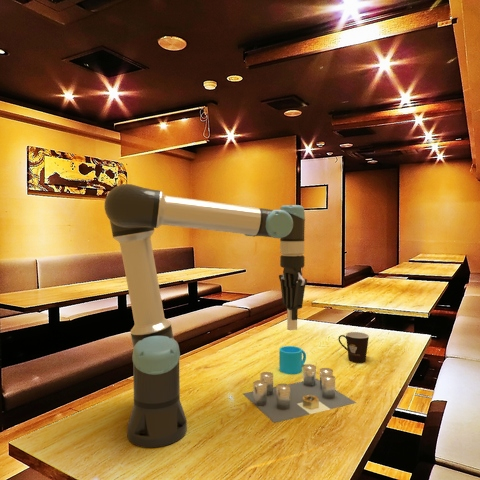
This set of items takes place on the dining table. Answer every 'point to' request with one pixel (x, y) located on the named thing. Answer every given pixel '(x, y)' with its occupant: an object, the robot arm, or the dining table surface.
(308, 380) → the spacers
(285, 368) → the mug
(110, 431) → the dining table surface
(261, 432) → the dining table surface
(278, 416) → the mat
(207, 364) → the dining table surface
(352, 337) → the coffee mug
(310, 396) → the nut
